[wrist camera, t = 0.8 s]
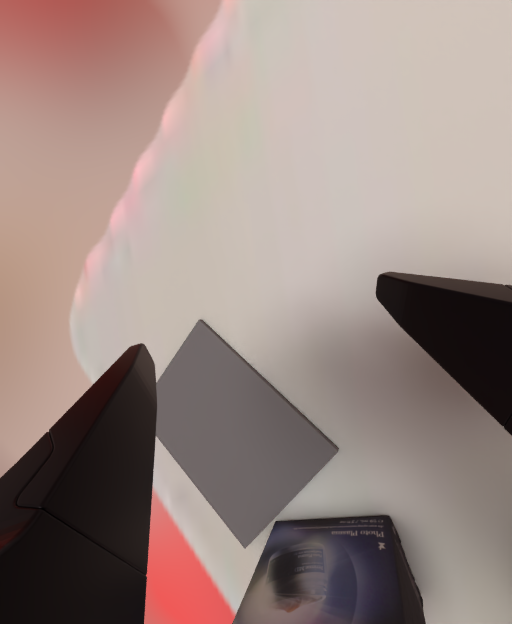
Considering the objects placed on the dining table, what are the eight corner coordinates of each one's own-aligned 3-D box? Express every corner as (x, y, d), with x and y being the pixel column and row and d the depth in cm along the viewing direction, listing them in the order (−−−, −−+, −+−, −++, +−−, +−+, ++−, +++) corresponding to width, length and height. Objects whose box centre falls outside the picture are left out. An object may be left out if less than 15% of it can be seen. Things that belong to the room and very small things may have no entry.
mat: (338, 448, 22) (338, 451, 21) (247, 544, 25) (244, 548, 24) (201, 319, 27) (199, 319, 27) (140, 410, 30) (137, 411, 30)
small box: (389, 508, 20) (418, 684, 10) (423, 598, 19) (491, 887, 9) (272, 516, 24) (213, 653, 14) (295, 592, 23) (249, 797, 13)
